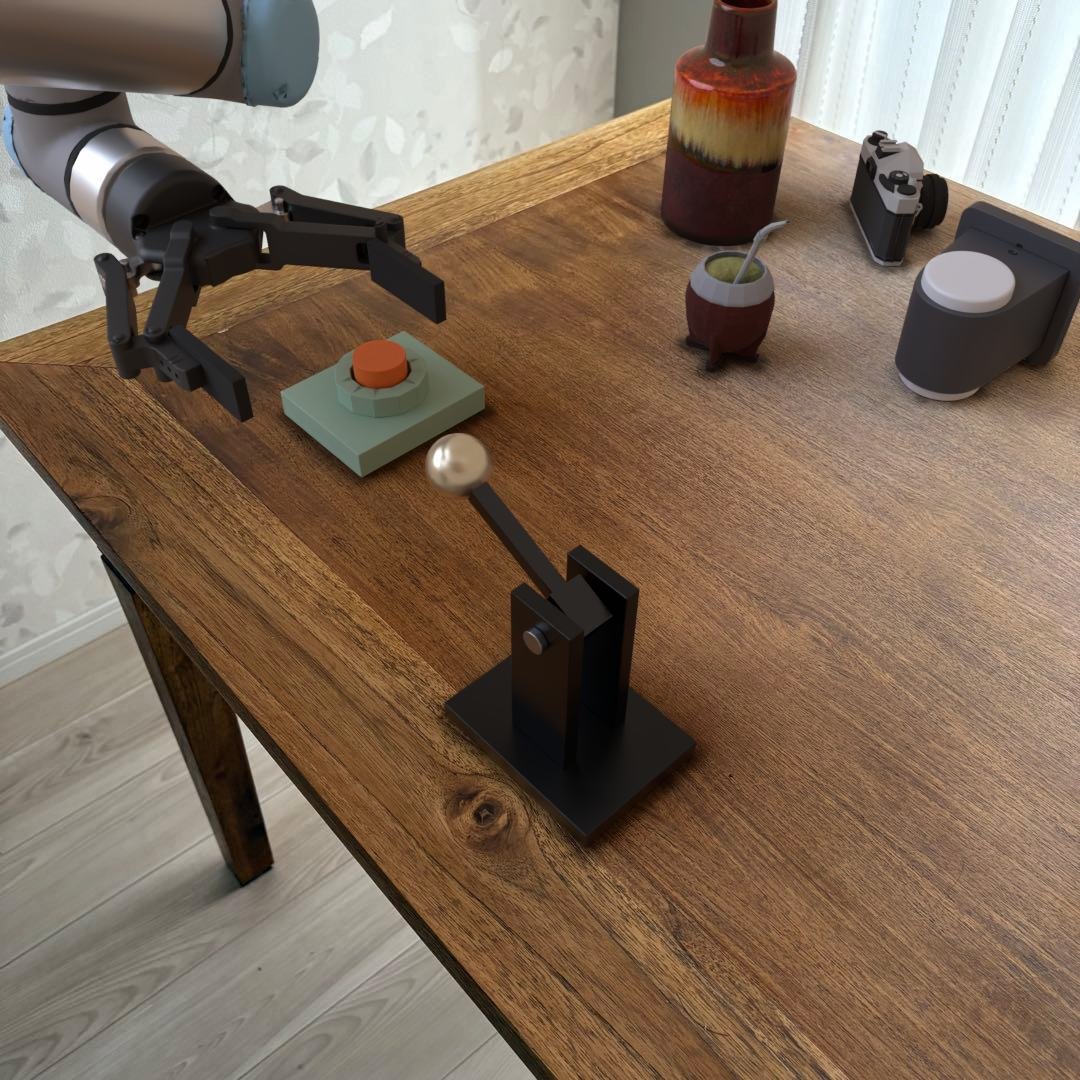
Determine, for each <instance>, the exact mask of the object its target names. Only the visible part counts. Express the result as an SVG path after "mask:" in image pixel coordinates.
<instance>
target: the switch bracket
mask: <svg viewBox="0 0 1080 1080" xmlns="http://www.w3.org/2000/svg"><path fill="white" fill-rule="evenodd" d="M578 574H581V575H582V577H583V578H584V579H585V580H586V582H587V583H588V584H589V585H590V587H591V588H592V589H593V590H594V592H595V593H596V594H597V596H598V597H599V598H600V599H601V601H602V602H603V603H604V604H605V606H606V607H607V608H608V609H609V611H610V612H611V613H612V614H613V616H612V617H611V618H610V619H609V620H608V621H607V622H606V623H605V624H604V625H603V626H602V627H601V628H600V629H599V630H598V631H597V632H596V633H595V634H593V635H592V636H591V637H589V638H588V639H586V640H585V641H584V629H582V628H581V627H580V626H579V625H577V624H576V623H575V622H574V621H572V620H571V619H570V618H569V617H567V616H566V615H565V614H564V613H562V612H561V611H560V610H559V609H558V608H556V607H555V606H554V605H553V604H551V603H550V602H549V601H548V600H546V598H545V597H544V596H543V595H541V594H540V593H539V592H538V591H536V590H535V589H534V588H533V587H532V586H530V585H529V584H528V583H527V582H525V581H523V582H522V583H521V584H519V585H517V586H516V587H515V588H513V589H512V590H510V593H509V594H510V654H509V656H507V657H506V658H505V659H503V660H501V661H500V662H499V663H497V664H496V665H495V666H493V667H492V668H491V669H489V670H488V671H486V672H485V673H483V674H482V675H481V676H479V677H478V678H477V679H474V681H472V682H471V683H469V684H468V685H467V686H465V687H464V688H462V689H461V690H459V692H457V693H456V694H454V695H452V697H450V698H448V699H446V701H445V702H443V705H444V715H445V717H446V718H447V719H449V721H450V722H452V724H454V726H456V727H457V728H458V729H459V730H460V731H461V732H462V733H463V735H465V736H466V737H467V738H468V739H469V740H471V742H473V744H475V745H476V746H477V747H478V748H479V749H480V750H481V751H482V752H483V753H484V754H485V755H487V757H488V758H489V759H490V760H491V761H492V762H493V763H495V765H497V766H498V767H499V768H500V769H501V770H502V771H503V772H504V773H505V774H506V775H507V776H509V778H510V779H512V780H513V782H515V783H516V784H517V785H518V786H519V787H520V788H521V789H522V790H523V791H524V792H525V793H526V794H527V795H528V796H530V797H531V798H532V799H533V800H534V802H536V803H537V804H538V805H539V806H540V807H541V808H542V809H543V810H544V811H545V812H546V813H547V814H548V815H549V816H550V817H552V819H554V820H555V821H556V822H557V823H558V824H559V825H560V826H561V827H562V828H563V829H564V830H565V831H566V832H567V833H568V834H569V835H570V836H571V837H573V838H574V839H575V840H576V842H578V843H579V844H580V845H581V846H582V847H583V848H584V849H587V848H588V847H589V846H590V845H591V844H593V843H594V842H595V841H596V840H597V839H598V838H600V836H602V835H603V834H604V833H605V832H607V830H609V829H610V828H611V827H612V826H613V825H614V824H616V823H617V822H618V821H619V820H620V819H621V818H623V817H624V816H625V815H626V814H627V813H628V812H629V811H631V810H632V809H633V808H634V807H635V806H637V805H638V804H639V803H640V802H641V801H642V800H643V799H644V798H646V797H647V796H648V795H649V794H651V792H653V791H654V790H655V789H656V788H657V787H658V786H659V785H661V784H662V783H663V782H664V781H665V780H667V778H669V777H670V776H671V775H672V774H673V773H675V772H676V770H678V769H679V768H680V767H681V766H682V765H684V764H685V763H687V761H688V760H689V759H691V758H692V757H693V756H694V755H695V753H696V748H697V744H698V741H697V740H696V739H694V738H693V737H692V736H691V735H689V734H688V733H687V732H686V731H685V730H683V729H682V728H681V727H680V726H679V725H677V724H676V723H675V722H674V721H673V720H671V719H670V718H669V717H667V715H665V714H664V713H663V712H662V711H660V710H659V709H658V708H657V707H656V706H654V705H653V704H652V703H651V702H650V701H648V700H647V699H646V698H645V697H643V696H642V695H641V694H640V693H639V692H637V691H636V690H635V689H634V688H632V686H630V681H631V672H632V663H633V655H634V645H635V635H636V628H637V627H636V626H637V618H638V609H639V602H640V601H639V600H640V591H641V590H640V588H638V587H637V586H636V585H634V584H633V583H632V582H631V581H629V580H628V579H627V578H625V577H624V576H623V575H621V574H620V573H618V572H617V570H615V569H613V568H612V567H611V566H610V565H608V564H607V563H606V562H604V561H603V560H602V559H600V558H599V557H597V555H595V554H593V553H592V552H591V551H589V550H588V549H587V548H586V547H584V546H583V545H582V544H578V545H577V546H576V547H573V549H571V550H569V551H568V552H567V554H566V574H565V575H566V576H565V581H566V582H568V581H570V580H571V579H573V578H574V577H575V576H577V575H578Z"/></svg>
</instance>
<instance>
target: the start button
mask: <svg viewBox="0 0 1080 1080" xmlns="http://www.w3.org/2000/svg"><path fill="white" fill-rule="evenodd" d="M354 350H355V351H354V352H353V355H352V362H353V369H354V376H355V379H356V381H357V382H358V383H359V384H360V385H361V386H363V387H367V388H372V389H384V388H391V387H394V386H396V385H398V384H399V383H401V382H403V381H404V380H405V378H406V376H407V361H406V352H405V350H404V348H403V347H402V346H401V345H399V344H398V343H396V342H393V341H389V340H386V339H374V340H370V341H367V342H364V343H362V344H360V345H359V346H357V347H356V348H355V349H354Z"/></svg>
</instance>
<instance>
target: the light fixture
mask: <svg viewBox="0 0 1080 1080" xmlns="http://www.w3.org/2000/svg"><path fill="white" fill-rule="evenodd" d="M1079 304H1080V241H1078V240H1076V239H1074V238H1072V237H1069V236H1067V235H1065V234H1062V233H1060V232H1057V231H1055V230H1053V229H1051V228H1048V227H1045V226H1043V225H1041V224H1039V223H1036V222H1034V221H1031V220H1029V219H1027V218H1026V217H1025V218H1024V217H1023V216H1019V215H1018V214H1015V213H1013V212H1011V211H1008V210H1006V209H1003V208H1001V207H998V206H996V205H994V204H992V203H989V202H986V201H983V200H977V201H974V202H973V203H972V204H970V205H968V206H967V207H966V208H965V209H964V210H962V212H961V214H960V217H959V220H958V223H957V228H956V231H955V235H954V238H953V241H952V242H951V243H950V244H949V245H948V246H947V247H946V248H944V249H943V250H942V251H941V252H940V253H938V255H936V256H934V257H933V258H931V259H930V260H929V261H928V262H927V263H926V265H924V267H923V268H922V269H921V270H920V271H919V272H918V274H917V275H916V277H915V279H914V282H913V286H912V289H911V294H910V298H909V301H908V305H907V309H906V313H905V316H904V321H903V325H902V328H901V333H900V336H899V340H898V344H897V347H896V352H895V355H894V356H895V357H894V364H895V367H896V369H897V370H898V375H899V378H900V379H901V381H902V383H903V384H904V385H905V386H906V387H907V388H908V389H909V390H911V391H912V392H914V393H916V394H917V395H919V396H922V397H924V398H927V399H930V400H935V401H942V402H943V401H944V402H952V401H958V400H959V401H960V400H964V399H966V398H969V397H971V396H973V395H974V394H976V393H977V391H979V389H980V388H981V387H983V386H985V385H986V384H988V383H989V382H991V381H992V380H994V379H995V378H997V377H998V376H1000V375H1001V374H1003V373H1004V372H1006V371H1008V370H1009V369H1010V368H1012V367H1013V366H1015V365H1016V364H1018V363H1019V362H1021V361H1022V360H1024V361H1026V362H1027V363H1029V364H1031V365H1034V366H1037V367H1044V366H1047V365H1048V364H1049V363H1050V362H1051V361H1052V360H1054V359H1055V358H1056V357H1057V356H1058V355H1059V353H1060V351H1061V348H1062V346H1063V343H1064V340H1065V338H1066V336H1067V333H1068V331H1069V328H1070V325H1071V323H1072V320H1073V318H1074V316H1075V313H1076V310H1077V308H1078V306H1079Z"/></svg>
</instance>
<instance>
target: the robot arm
mask: <svg viewBox="0 0 1080 1080" xmlns="http://www.w3.org/2000/svg"><path fill="white" fill-rule="evenodd" d="M320 39H321V35H320V23H319V18H318V13H317V10H316V7H315V4H314V2H313V0H0V85H1V86H2V85H3V87H4V91H5V93H6V98H7V102H8V103H7V104H6V107H5V109H4V115H3V121H2V130H1V134H2V140H3V144H4V146H5V149H6V152H7V153H8V155H9V156H10V158H11V160H12V161H13V162H14V164H15V165H16V166H17V167H18V168H19V169H20V170H21V172H22V173H23V175H24V176H25V177H26V178H27V179H29V180H30V181H31V182H32V184H33V186H35V187H36V188H38V189H39V190H40V192H42V193H44V194H45V195H47V196H48V197H50V198H51V199H53V200H54V201H56V202H57V203H58V204H60V206H62V207H63V208H64V209H66V210H67V211H68V212H70V213H71V214H73V215H74V216H75V217H76V218H78V219H79V220H80V221H81V222H83V223H85V224H86V225H87V226H89V228H91V229H92V230H94V231H95V232H96V233H97V234H99V235H100V236H101V237H102V238H104V239H105V240H106V241H107V242H108V243H109V244H111V245H112V246H114V247H115V248H116V249H117V250H118V251H119V252H120V253H121V254H122V255H123V256H124V257H126V258H121V259H118V258H117V257H116V256H115V255H114V254H113V253H112V252H101V253H98V254H96V255H95V256H94V257H93V262H94V265H95V269H96V272H97V276H98V279H99V283H100V285H101V288H102V291H103V294H104V297H105V311H106V312H105V313H106V314H105V316H106V335H107V342H108V345H109V349H110V351H111V355H112V358H113V361H114V364H115V367H116V370H117V373H118V376H119V378H121V380H128V381H129V380H133V379H136V378H138V377H139V376H140V375H141V373H142V370H143V369H150V368H153V371H154V374H155V377H156V380H157V381H158V382H160V383H170V382H174V383H175V384H176V385H177V386H179V388H180V389H182V390H184V391H187V392H190V393H192V392H194V391H196V390H198V389H202V390H203V391H204V392H206V394H208V395H209V396H210V397H211V398H212V399H214V401H216V402H217V403H218V404H219V405H221V407H223V408H224V409H225V410H226V411H227V412H228V413H229V414H231V415H232V416H233V417H234V418H235V419H237V420H238V421H239V422H240V423H241V424H243V423H246V422H248V421H249V420H252V419H253V418H255V416H254V411H253V407H252V403H251V398H250V394H249V389H248V384H247V380H246V377H245V376H244V375H243V374H241V372H240V371H238V370H237V369H236V368H235V367H233V366H232V365H231V364H230V363H229V362H227V361H226V360H225V359H224V358H222V357H221V356H220V355H219V354H218V353H216V352H215V351H214V350H213V349H211V348H210V347H209V346H208V345H207V344H205V343H204V342H203V341H202V340H200V338H198V337H197V336H196V335H195V334H193V333H192V332H191V331H190V330H189V329H187V326H188V323H189V319H190V317H191V312H192V309H193V308H196V307H197V305H198V301H199V299H200V294H201V291H202V288H204V287H208V286H211V287H212V288H215V287H218V286H220V285H223V284H224V283H226V282H228V281H229V280H231V279H232V278H234V277H237V276H241V275H245V274H248V273H250V272H252V271H255V270H261V271H275V272H277V271H281V270H282V269H283V268H284V266H299V267H310V268H311V267H313V268H327V269H340V270H341V269H342V270H354V271H368V272H369V273H370V280H371V281H372V282H373V283H375V284H376V285H377V286H379V287H381V288H382V289H383V290H385V291H387V292H388V293H390V295H392V296H393V297H395V298H397V299H398V300H399V301H401V302H403V303H404V304H406V305H407V306H409V308H411V309H413V310H414V311H416V312H417V313H419V314H420V315H422V316H423V317H424V318H426V319H428V320H429V321H431V322H432V323H434V324H435V325H439V324H442V323H444V322H445V321H447V320H448V319H447V306H446V305H447V304H446V288H445V287H446V286H445V280H443V279H442V278H440V277H439V276H437V275H436V274H434V273H433V272H431V271H429V270H428V269H426V268H425V267H423V263H422V260H421V258H420V257H419V256H417V255H416V254H414V253H413V252H411V251H409V250H408V249H407V244H406V233H405V231H406V230H405V222H404V216H402V215H401V214H398V213H394V212H390V211H389V212H388V211H384V210H378V209H373V208H369V207H364V206H359V205H355V204H350V203H346V202H340V201H334V200H331V199H326V198H325V199H324V198H321V197H315V196H310V195H307V194H302V193H300V192H298V191H296V190H294V189H292V188H290V187H287V185H280V184H279V185H273V186H272V187H270V188H269V190H268V191H269V197H270V200H269V201H267V202H265V203H263V204H261V205H259V206H256V207H255V206H254V205H251V204H248V203H243V202H240V201H236V200H235V199H234V198H233V196H232V195H231V194H230V193H229V192H228V190H227V189H226V188H225V186H223V185H222V183H221V182H219V181H218V179H216V178H215V177H214V176H212V175H211V174H209V173H207V172H206V171H204V170H203V169H202V168H200V167H198V165H196V164H194V163H193V162H192V161H190V160H188V159H187V158H186V157H185V156H183V155H182V154H180V153H178V152H177V151H175V150H174V149H172V148H171V147H170V146H168V145H166V144H165V143H163V142H162V141H160V140H159V139H158V138H156V137H154V136H153V135H152V134H151V133H149V132H147V131H145V130H144V129H143V128H140V127H139V126H138V125H137V124H136V123H135V121H134V118H133V115H132V112H131V107H130V104H129V100H128V95H127V93H129V94H131V93H132V94H133V93H134V94H147V95H148V94H149V95H164V96H166V95H167V96H173V97H181V98H196V99H208V100H209V99H211V100H220V101H225V102H232V103H236V104H244V105H245V106H247V107H252V108H255V107H258V106H261V107H270V108H281V109H284V108H290V107H294V106H296V105H297V104H299V103H300V102H301V101H302V100H303V99H304V98H305V97H306V96H307V94H309V91H310V89H311V88H312V85H313V83H314V81H315V77H316V74H317V71H318V66H319V59H320V55H319V54H320V42H321V41H320ZM264 234H265V238H266V243H267V249H268V252H263V245H264V244H263V243H264ZM143 277H145V278H147V279H149V281H150V280H151V281H154V282H158V285H157V288H156V289H157V290H156V292H155V295H154V298H153V301H152V304H151V306H150V307H151V308H150V310H149V313H148V315H147V318H146V322H145V324H144V327H143V330H142V333H143V334H139V330H138V329H139V327H138V315H137V307H136V303H135V299H134V298H137V297H138V295H139V292H138V289H139V287H140V286H141V279H142V278H143ZM137 288H138V289H137Z"/></svg>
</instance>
